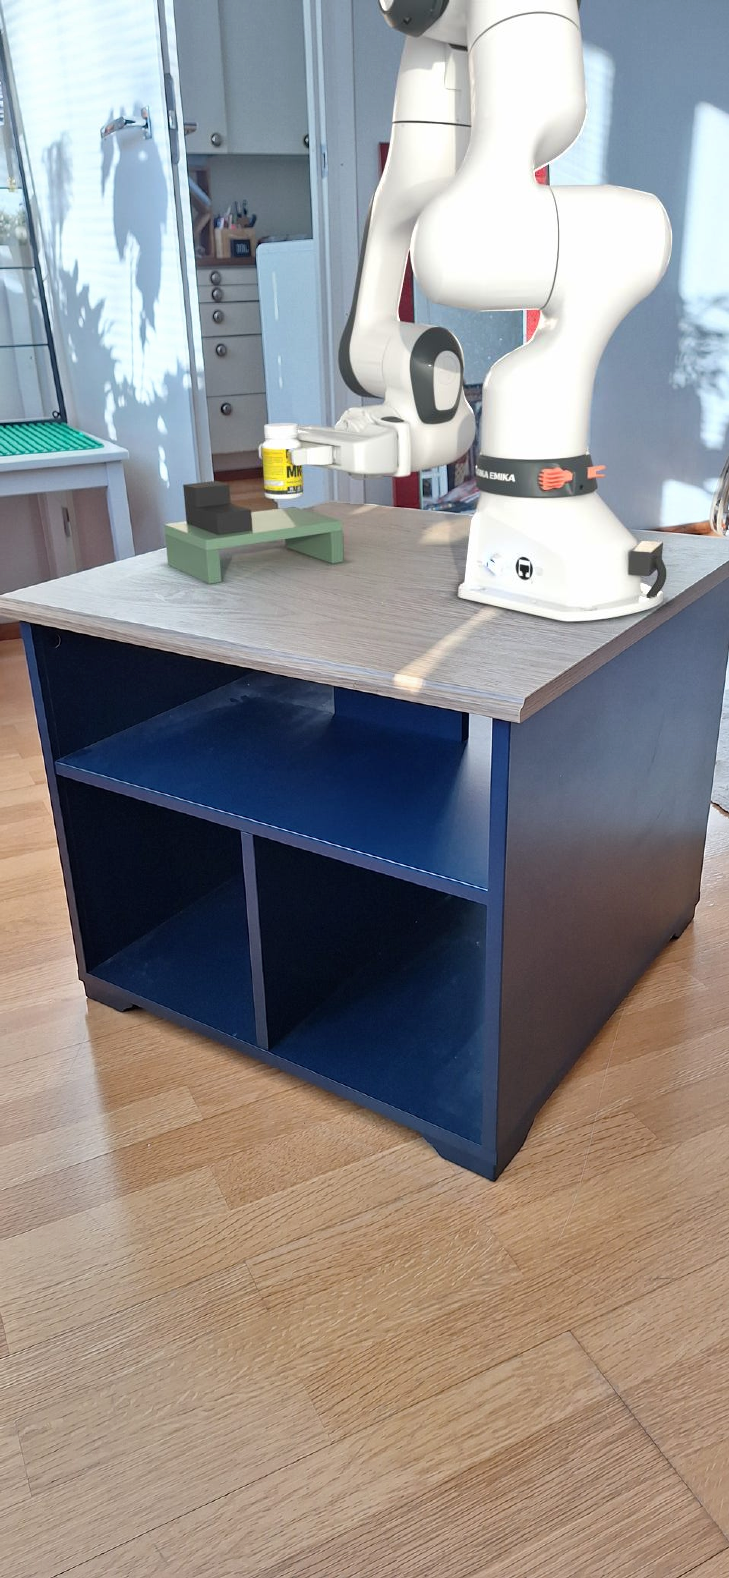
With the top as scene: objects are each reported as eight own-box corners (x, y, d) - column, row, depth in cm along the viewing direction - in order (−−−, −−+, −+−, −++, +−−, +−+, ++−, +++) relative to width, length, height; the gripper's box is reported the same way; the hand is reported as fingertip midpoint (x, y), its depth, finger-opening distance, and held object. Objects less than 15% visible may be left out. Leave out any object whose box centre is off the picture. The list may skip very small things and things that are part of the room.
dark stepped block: (252, 530, 130) (250, 490, 128) (218, 535, 128) (215, 494, 126) (219, 519, 137) (216, 480, 135) (186, 523, 135) (182, 484, 133)
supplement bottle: (291, 501, 133) (287, 427, 129) (257, 499, 135) (252, 426, 131) (310, 494, 137) (307, 422, 133) (277, 492, 139) (273, 421, 135)
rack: (343, 561, 136) (342, 520, 134) (209, 583, 127) (205, 540, 125) (295, 545, 145) (294, 506, 143) (167, 565, 137) (163, 524, 135)
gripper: (317, 411, 147) (228, 421, 139) (418, 423, 132) (324, 435, 125) (319, 460, 150) (231, 472, 142) (418, 477, 135) (327, 492, 127)
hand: (276, 455), depth 133 cm, fingers closed on supplement bottle, 5 cm apart
